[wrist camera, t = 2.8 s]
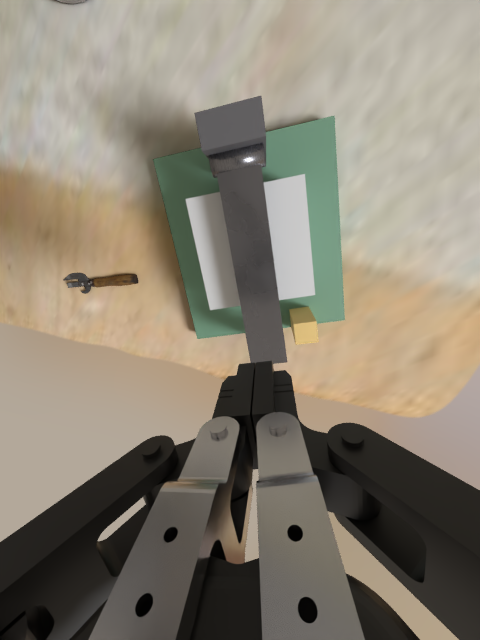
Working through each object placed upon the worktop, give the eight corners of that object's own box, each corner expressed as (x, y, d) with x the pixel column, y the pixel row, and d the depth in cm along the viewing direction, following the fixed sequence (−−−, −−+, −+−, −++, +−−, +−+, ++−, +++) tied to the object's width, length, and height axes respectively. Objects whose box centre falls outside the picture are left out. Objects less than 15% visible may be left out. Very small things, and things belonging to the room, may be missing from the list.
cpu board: (159, 163, 25) (100, 127, 16) (330, 122, 23) (371, 55, 14) (200, 333, 31) (173, 377, 22) (340, 315, 28) (374, 355, 20)
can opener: (138, 273, 29) (133, 275, 28) (141, 293, 30) (136, 296, 29) (64, 271, 30) (56, 273, 29) (68, 291, 31) (61, 293, 30)
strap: (222, 170, 23) (207, 150, 17) (263, 161, 22) (262, 137, 16) (251, 341, 28) (248, 371, 22) (286, 337, 27) (291, 366, 21)
